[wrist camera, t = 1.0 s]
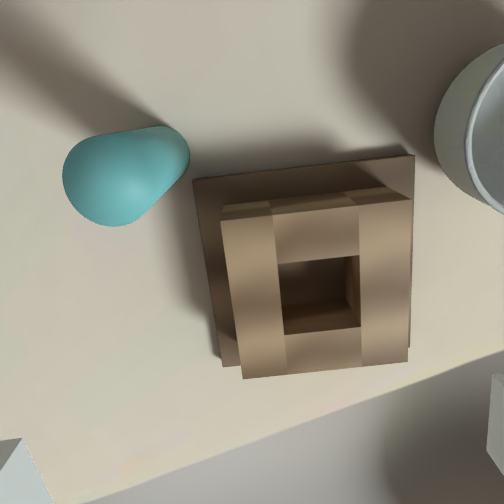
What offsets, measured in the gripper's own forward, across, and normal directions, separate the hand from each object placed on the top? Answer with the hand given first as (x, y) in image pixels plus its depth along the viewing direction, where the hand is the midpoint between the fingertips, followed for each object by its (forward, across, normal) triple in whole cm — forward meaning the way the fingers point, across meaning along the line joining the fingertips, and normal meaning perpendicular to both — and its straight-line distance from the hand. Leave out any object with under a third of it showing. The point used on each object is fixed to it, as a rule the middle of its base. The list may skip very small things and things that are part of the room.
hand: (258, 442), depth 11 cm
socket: (+21, +4, -4) cm, 21 cm away
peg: (+21, -6, +6) cm, 22 cm away
